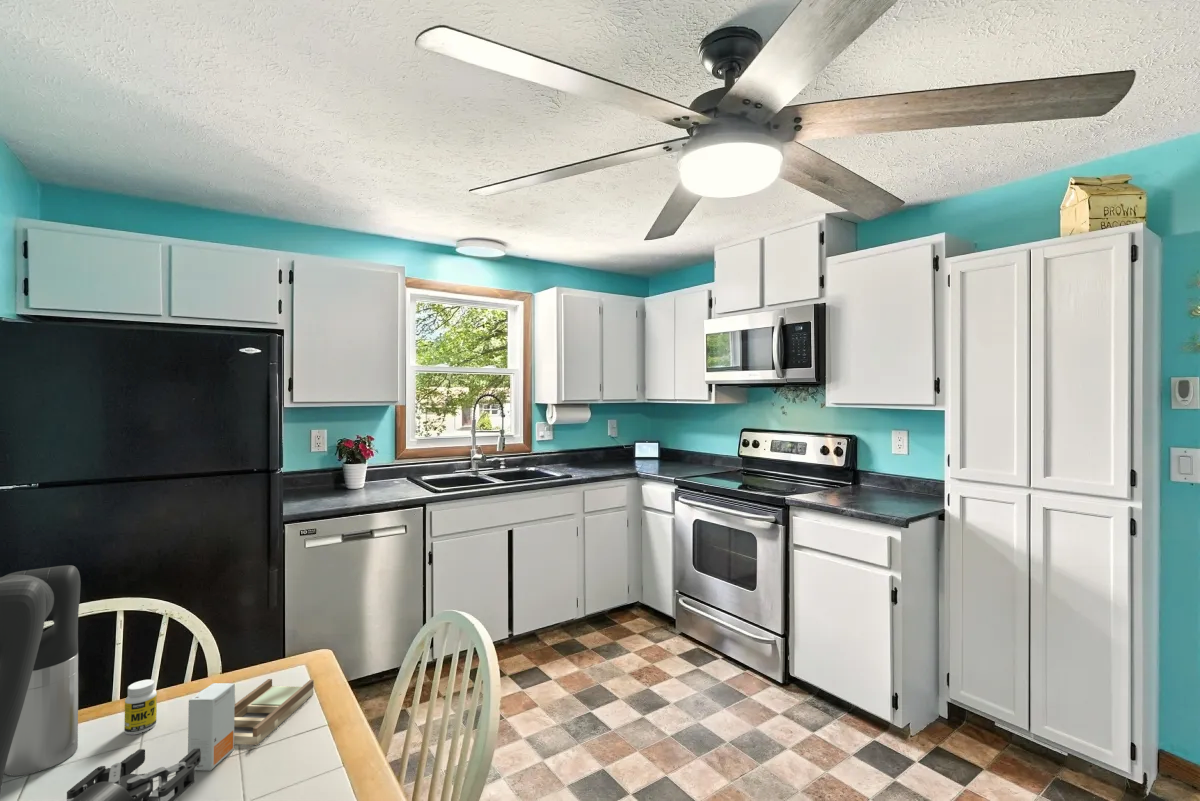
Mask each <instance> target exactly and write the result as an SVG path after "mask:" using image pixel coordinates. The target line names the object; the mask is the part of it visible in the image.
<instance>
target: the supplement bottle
mask: <svg viewBox="0 0 1200 801" xmlns="http://www.w3.org/2000/svg"><path fill="white" fill-rule="evenodd" d="M157 694H158V692H157V690H156V689H155V680H154V679H143V680H138V681H135V682H133V683H131V684H130V685H128V686H127V697H126V698H125V699H124V734H126V735H131V736H132V735H138V734H143V733H144V732H147V731H149V729H150V730H151V729H153V728H154V727H155V726H156V725H157V714H158V713H157V711H158V710H157V705H158V704H157V701H158V700H157V699H158V695H157ZM142 732H143V733H142Z"/></svg>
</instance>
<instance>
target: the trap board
mask: <svg viewBox="0 0 1200 801" xmlns="http://www.w3.org/2000/svg"><path fill="white" fill-rule="evenodd" d="M313 695H314V679H309V680H308V681H307V682H305V683H304V684H303V685H302V686H283V685H282V686H280V685H279V686H278V685H273V679H272V678H267V679H266V680H265V681H264V682H263V683H261V684H260V685H258V686H257V687H256V688H254V689H253V690H252V691H250V692H249V693H248V694H246V695H245V696H244V697H243V698H241V699H240V700H238V701H237V702H236V703H235V707H234V745H243V746H257V745H259V744H260V743H261V742H262V741H263V740H265V739H266V738H267V737H268V736H269V735H270V734H271V733H272V732H273V731H275V729H277V728H278V727H279V726H280V725H282V723H283V722H284V721H286V720H287V719H288V718H289V717H290V716H291V715H292V714H294V712H296V711H297V710H298V709H299V708H300V707H301V706H303V704H304V703H305V702H306V701H308V700H309V699H310V698H311V697H312V696H313ZM310 696H311V697H310ZM309 697H310V698H309ZM308 698H309V699H308ZM307 699H308V700H307Z"/></svg>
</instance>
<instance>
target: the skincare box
mask: <svg viewBox="0 0 1200 801" xmlns="http://www.w3.org/2000/svg"><path fill="white" fill-rule="evenodd" d="M235 686H236V685H235V683H228V682H226V683H221V682H220V683H219V682H218V683H216V682H213V683H211V684H209V686H206V688H204V689H202V690H200V691H199V692H198V693H197V694H196V695H194V696H193V697H191V698H190V699H188V718H187V719H188V722H187V723H188V724H187V726H188V727H187V754H188V753H190V752H191V751H192V750H193V749H194V748H200V752H201V761H200V763H199V764H198V765H197V766H196V767H195V771H212V770H214V768H215V767H216V766H218V764H220V762H222V761H223V760H224V759H225V758H226V757H227V756H229V755H230V754H231V753H232V752H233V751H234V750H235V744H234V707H235V704H236V703H235V699H236V698H235V696H236V695H235V688H236V687H235Z"/></svg>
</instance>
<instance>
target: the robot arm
mask: <svg viewBox="0 0 1200 801" xmlns="http://www.w3.org/2000/svg"><path fill="white" fill-rule="evenodd" d="M81 584H82V583H81V575H80V571H79V570H78V568H77V567H76V566H74V565H69V564H67V565H57V566H51V567H43V568H42V567H41V568H35V569H28V570H21V571H20V570H19V571H15V572H10V573H8V574H6V575H4V576H0V793H2V792H1V791H2V786H3V781H4V780H3V779H4V777H5V775H7V776H15V777H16V776H23V775H24V776H25V775H29V774H34V773H37V772H40V771H43V770H47V769H50V768H52V767H54V766H56V765H58V764H61V763H62V762H64V761H66V760H68V759H69V758H70V757H72V756H73V755H74V754H75V753H76V752H77V750H78V748H79V746H78V745H79V742H78V741H79V736H78V735H79V734H78V733H79V732H78V731H79V730H78V729H79V611H80V610H79V608H80V600H81V598H80V597H81ZM46 622H53V624H52V626H50V627H49V628H48V629H46V630H45V631H44V627H45V623H46ZM145 761H146V749H145V748H144V749H142V748H140V749H137V750H136V751H134V752H133V753H131V754H130V755H128V756H127V757H126V758H125V759H123V760H122V761H121V762H117V763H114V764H112V765H111V766H110V767H107V766H105V765H101V766H98V767H96V768H95V769H94V770H92V771H91V772H90V773H88V774H87V775H85V777H83V778H82V779H81V780H79V781H78V782H77V783H76V784H75V785H73V786H72V787H71V788H69V789H68V790H67V791H66V801H175V800H177V798H179V797H180V796H181V795H182V794H183V793H184V792H186V791H187V789H189V788H190V787H191V786H192V785H193V784H194V783H195V780H196V778H195V777H196V776H195V771H196V770H195V767H196V766H197V765H198V764H199V763H200V761H201V752H200V748H194V749H193V750H192V751H191V752H190V753H188V752H187V754H186V755H185V756H184V757H183V758H182V759H181V760H179V761H178V762H177V763H176V764H173V765H170V766H169V767H165V766H161V767H158V768H156V769H154V770H151V771H149V772H147V773H141V774H137V773H133V772H135V771H136V770H137V769H138V768H139V767H140V766H142V765H143V764H144V763H145ZM106 767H107V768H106ZM173 773H175V774H174V776H173V777H172V778H171V779H169V780H168V777H169V776H170V775H172V774H173ZM155 778H158V786H157V787H156V789H154V779H155Z"/></svg>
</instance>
